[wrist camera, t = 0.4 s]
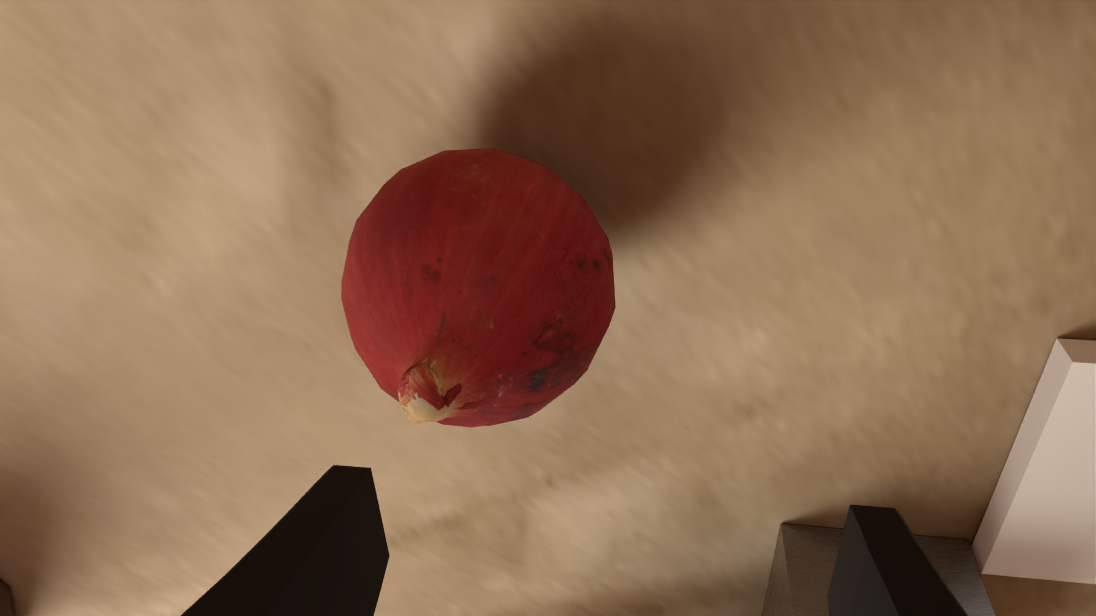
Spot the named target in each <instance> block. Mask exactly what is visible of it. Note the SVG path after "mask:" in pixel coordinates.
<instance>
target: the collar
mask: <svg viewBox="0 0 1096 616" xmlns="http://www.w3.org/2000/svg"><path fill="white" fill-rule="evenodd" d="M843 531H844V529H836V528H825V527H814V526H802V525H791V524H781V525H780V530H779V535H778V540H777V545H776V550H775V555H774V560H773V565H772V569H771V574H770V579H769V584H768V589H767V594H766V599H765V604H764V608H763V613H762V616H829V609H828V599H827V594H828V590H829V586H830V582H831V578H832V574H833V571H834V567H835V563H836V559H837V555H838V551H839V547H840V543H841V539H842V535H843ZM914 537H915V538H916V540H917V541H918V543H919V544H920V546H921V547H922V549H923V550H924V552H925V553H926V555H927V556H928V558H929V560H930V561H931V563H932V564H933V566H934V567H935V569H936V570H937V571H938V573H939V574H940V576H941V577H942V579H943V580H944V582H945V583H946V585H947V586H948V588H949V589H950V590H951V592H952V593H953V595H954V596H955V598H956V599H957V600H958V602H959V603H960V605H961V606H962V608H963V609H964V610H965V612H966V613H967V615H968V616H996V615H995V613H994V610H993V607H992V605H991V602H990V599H989V597H988V594H987V592H986V589H985V586H984V584H983V581H982V578H981V576H980V573H979V570H978V568H977V565H976V562H975V560H974V557H973V555H972V552H971V549H970V547H969V544H968V541H967V540H962V539H951V538H939V537H928V536H916V535H914Z"/></svg>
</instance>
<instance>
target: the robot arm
mask: <svg viewBox="0 0 1096 616" xmlns="http://www.w3.org/2000/svg"><path fill="white" fill-rule="evenodd" d="M388 559H389V551H388V547H387V542H386V537H385V533H384V528H383V523H382V518H381V514H380V509H379V504H378V499H377V495H376V490H375V485H374V481H373V476H372V471H371V468H365V467H352V466H339V465H333V466H332V467H331V468H330V469H329V470H328V471H327V472H326V473H325V474H324V475H323V476H322V477H321V478H320V479H319V480H318V481H317V482H316V483H315V484H314V485H313V486H312V487H311V488H310V489H309V490H308V491H307V493H306V494H305V495H304V496H303V497H302V498H301V499H300V500H299V501H298V502H297V503H296V504H295V505H294V506H293V507H292V508H291V509H290V510H289V511H288V512H287V514H286V515H285V516H284V517H283V518H282V519H281V520H280V521H279V522H278V523H277V524H276V525H275V526H274V527H273V528H272V529H271V530H270V531H269V532H268V533H267V534H266V535H265V536H264V537H263V538H262V539H261V540H260V541H259V542H258V543H257V544H256V545H255V546H254V547H253V548H252V549H251V550H250V551H249V552H248V553H247V554H246V555H245V556H244V557H243V558H242V559H241V560H240V561H239V562H238V563H237V564H236V565H235V566H234V567H233V568H232V569H231V570H230V571H229V572H228V573H227V574H226V575H225V576H223V577H222V578H221V579H220V580H219V581H218V582H217V583H216V584H215V585H214V586H213V587H212V588H210V589H209V590H208V591H207V592H206V593H205V594H204V595H203V596H202V597H201V598H199V599H198V600H197V601H196V602H195V603H194V604H193V605H192V606H191V607H190V608H189V609H187V610H186V611H185V612H184V613H183V614H182V615H181V616H374V612H375V608H376V605H377V601H378V598H379V594H380V591H381V587H382V583H383V579H384V575H385V571H386V567H387V563H388ZM827 599H828V609H829V616H968V615H967V613H966V612H965V610H964V609H963V608H962V606H961V605H960V603H959V602H958V600H957V599H956V598H955V596H954V595H953V593H952V592H951V590H950V589H949V588H948V586H947V585H946V583H945V582H944V580H943V579H942V577H941V576H940V574H939V573H938V571H937V570H936V569H935V567H934V566H933V564H932V563H931V561H930V560H929V558H928V556H927V555H926V553H925V552H924V550H923V549H922V547H921V546H920V544H919V543H918V541H917V540H916V538H915V537H914V535H913V533H912V532H911V530H910V529H909V527H908V526H907V524H906V522H905V521H904V519H903V518H902V516H901V515H900V514H899V512H898V511H897V510H896V509H895V508H886V507H873V506H860V505H850V507H849V511H848V515H847V519H846V523H845V527H844V531H843V535H842V539H841V543H840V547H839V551H838V555H837V559H836V563H835V567H834V571H833V574H832V578H831V582H830V586H829V590H828V594H827Z"/></svg>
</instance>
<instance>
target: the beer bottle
mask: <svg viewBox="0 0 1096 616" xmlns="http://www.w3.org/2000/svg"><path fill="white" fill-rule="evenodd" d="M0 616H15V611H14V606H13V600H12V594H11V589H10V587H9V586H8V585H7V584H5V583H4V582H3V581H2V580H0Z"/></svg>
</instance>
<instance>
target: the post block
mask: <svg viewBox="0 0 1096 616" xmlns="http://www.w3.org/2000/svg"><path fill="white" fill-rule="evenodd" d="M971 548H972V550H973V553H974V556H975V558H976V561H977V564H978V566H979V569H980V571H981V574H989V575H1000V576H1011V577H1022V578H1033V579H1044V580H1055V581H1065V582H1076V583H1087V584H1096V341H1095V340H1077V339H1059V338H1057V339H1056V341H1055V344H1054V346H1053V349H1052V351H1051V354H1050V356H1049V358H1048V361H1047V363H1046V366H1045V368H1044V371H1043V373H1042V376H1041V378H1040V380H1039V383H1038V385H1037V388H1036V390H1035V393H1034V395H1033V398H1032V400H1031V402H1030V405H1029V407H1028V410H1027V412H1026V415H1025V417H1024V419H1023V422H1022V424H1021V427H1020V429H1019V432H1018V434H1017V437H1016V439H1015V441H1014V444H1013V446H1012V449H1011V451H1010V454H1009V456H1008V459H1007V461H1006V463H1005V466H1004V468H1003V471H1002V473H1001V476H1000V478H999V481H998V483H997V485H996V488H995V490H994V493H993V495H992V498H991V500H990V503H989V505H988V507H987V510H986V512H985V515H984V517H983V520H982V522H981V524H980V527H979V529H978V532H977V534H976V537H975V539H974V542H973V544H972V546H971Z"/></svg>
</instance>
